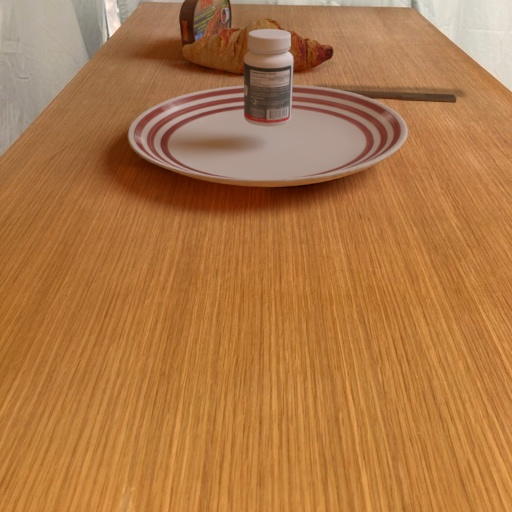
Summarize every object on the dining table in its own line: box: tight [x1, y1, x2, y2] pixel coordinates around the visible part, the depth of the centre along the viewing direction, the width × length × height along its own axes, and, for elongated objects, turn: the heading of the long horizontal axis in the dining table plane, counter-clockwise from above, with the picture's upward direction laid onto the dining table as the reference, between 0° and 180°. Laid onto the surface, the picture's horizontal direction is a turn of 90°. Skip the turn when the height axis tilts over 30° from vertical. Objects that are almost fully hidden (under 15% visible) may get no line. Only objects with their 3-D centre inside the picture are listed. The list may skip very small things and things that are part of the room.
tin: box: [178, 0, 233, 48], centre depth 104 cm, size 15×3×8 cm, turn 161°
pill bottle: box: [243, 29, 294, 127], centre depth 67 cm, size 5×5×8 cm
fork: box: [341, 89, 457, 103], centre depth 86 cm, size 17×2×1 cm, turn 83°
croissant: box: [181, 17, 335, 75], centre depth 96 cm, size 21×10×8 cm, turn 85°
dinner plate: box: [127, 84, 409, 188], centre depth 69 cm, size 28×27×3 cm
